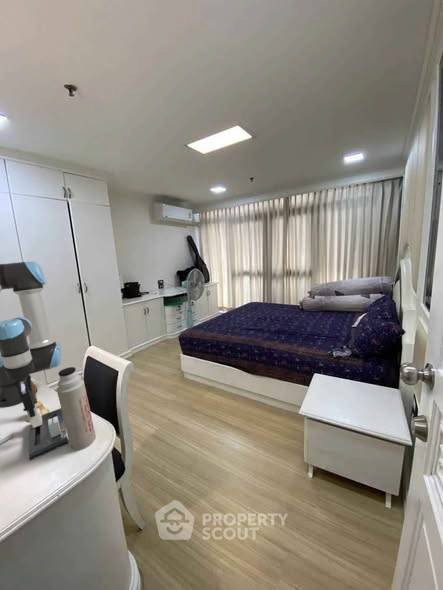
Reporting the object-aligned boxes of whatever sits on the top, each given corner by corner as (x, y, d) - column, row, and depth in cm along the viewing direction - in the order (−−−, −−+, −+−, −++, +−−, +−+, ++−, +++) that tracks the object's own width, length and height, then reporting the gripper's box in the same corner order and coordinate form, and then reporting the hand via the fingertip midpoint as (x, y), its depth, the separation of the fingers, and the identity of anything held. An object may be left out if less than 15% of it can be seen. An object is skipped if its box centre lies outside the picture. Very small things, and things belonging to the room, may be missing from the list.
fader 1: (34, 425, 96) (30, 410, 95) (42, 422, 98) (39, 407, 97) (34, 431, 93) (29, 416, 92) (42, 427, 95) (39, 412, 93)
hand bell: (46, 406, 111) (38, 374, 107) (52, 413, 105) (44, 379, 102) (23, 417, 104) (14, 383, 101) (28, 425, 99) (19, 389, 96)
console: (31, 425, 99) (30, 419, 98) (63, 412, 105) (62, 407, 105) (29, 460, 81) (27, 454, 81) (68, 443, 88) (66, 436, 87)
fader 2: (51, 434, 90) (47, 419, 89) (60, 431, 92) (57, 415, 91) (52, 441, 87) (48, 425, 86) (61, 437, 89) (57, 421, 87)
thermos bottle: (100, 434, 91) (85, 364, 85) (84, 451, 83) (67, 376, 77) (82, 432, 92) (66, 364, 87) (65, 449, 85) (46, 376, 79)
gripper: (6, 360, 88) (23, 417, 93) (2, 375, 77) (21, 438, 83) (32, 354, 92) (47, 408, 97) (31, 366, 82) (48, 427, 87)
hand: (35, 422), depth 90 cm, fingers closed
